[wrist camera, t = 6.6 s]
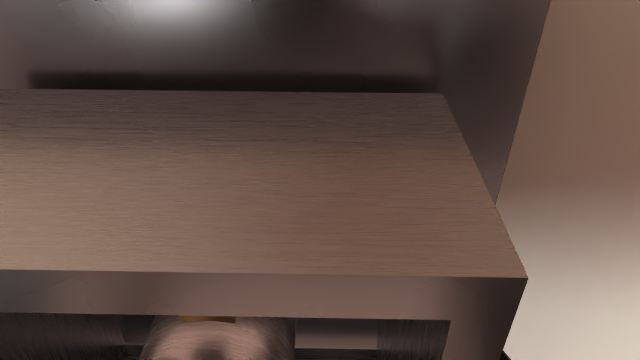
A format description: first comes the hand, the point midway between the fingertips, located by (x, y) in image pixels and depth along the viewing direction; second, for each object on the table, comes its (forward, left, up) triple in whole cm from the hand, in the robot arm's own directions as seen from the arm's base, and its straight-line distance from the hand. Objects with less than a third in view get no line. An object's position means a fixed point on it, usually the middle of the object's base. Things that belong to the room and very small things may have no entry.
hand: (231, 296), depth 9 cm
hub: (0, 0, -1) cm, 1 cm away
